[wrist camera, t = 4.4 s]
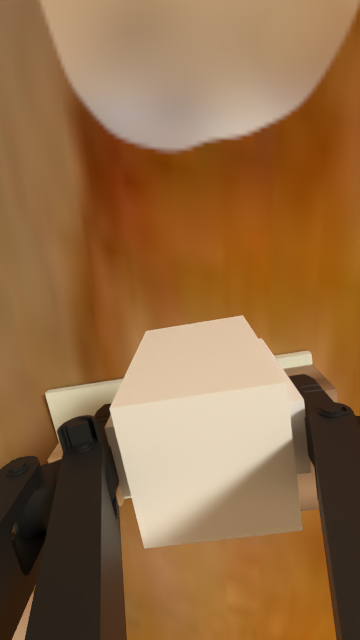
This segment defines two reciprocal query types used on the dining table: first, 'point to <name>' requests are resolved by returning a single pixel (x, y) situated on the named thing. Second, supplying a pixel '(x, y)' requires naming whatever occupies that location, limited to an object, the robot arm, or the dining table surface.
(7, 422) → the dining table surface
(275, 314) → the dining table surface
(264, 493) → the white block
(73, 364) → the dining table surface
